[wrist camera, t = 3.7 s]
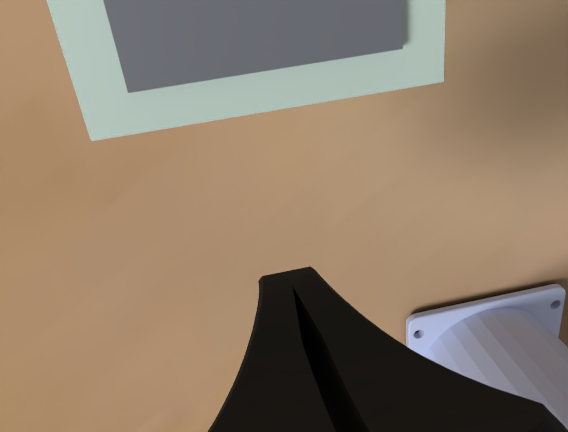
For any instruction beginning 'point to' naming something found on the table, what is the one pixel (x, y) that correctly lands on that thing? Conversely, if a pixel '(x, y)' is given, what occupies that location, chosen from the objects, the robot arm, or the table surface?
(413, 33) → the sage block
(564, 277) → the table surface
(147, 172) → the table surface
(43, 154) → the table surface
